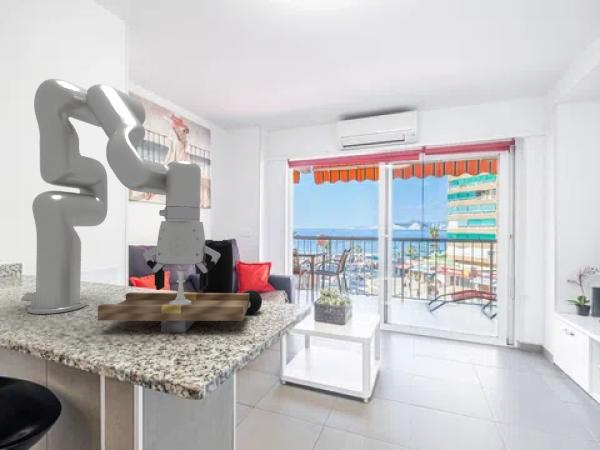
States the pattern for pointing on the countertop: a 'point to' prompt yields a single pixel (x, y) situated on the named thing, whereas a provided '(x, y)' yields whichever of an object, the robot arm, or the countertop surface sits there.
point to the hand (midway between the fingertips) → (181, 289)
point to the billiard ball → (254, 301)
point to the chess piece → (180, 289)
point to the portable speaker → (220, 267)
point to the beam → (177, 309)
